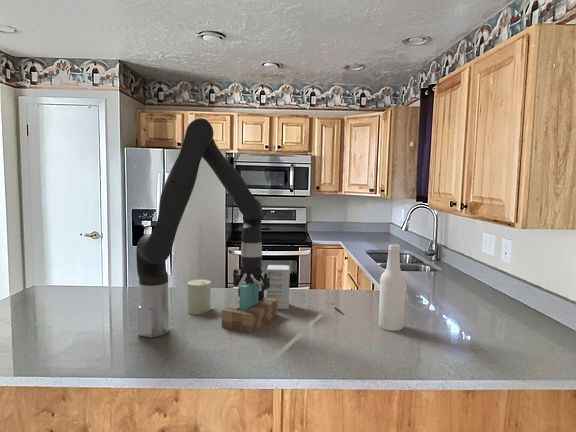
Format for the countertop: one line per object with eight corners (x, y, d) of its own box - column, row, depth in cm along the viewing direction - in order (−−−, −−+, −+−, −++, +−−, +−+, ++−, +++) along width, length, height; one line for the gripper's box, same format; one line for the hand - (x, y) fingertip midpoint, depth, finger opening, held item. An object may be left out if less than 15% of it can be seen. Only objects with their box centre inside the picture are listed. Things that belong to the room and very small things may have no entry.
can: (197, 316, 152) (197, 285, 151) (182, 311, 157) (182, 281, 156) (215, 310, 159) (215, 280, 158) (200, 305, 164) (200, 277, 163)
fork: (340, 316, 156) (341, 311, 155) (325, 304, 171) (325, 299, 171) (347, 315, 156) (347, 310, 156) (331, 303, 172) (331, 299, 171)
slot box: (251, 335, 134) (252, 315, 133) (221, 329, 139) (221, 310, 138) (277, 317, 152) (277, 299, 151) (249, 312, 157) (249, 295, 156)
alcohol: (386, 332, 138) (389, 247, 136) (374, 323, 147) (377, 243, 144) (408, 330, 141) (412, 246, 138) (395, 322, 149) (398, 242, 147)
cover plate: (245, 326, 139) (245, 287, 138) (239, 325, 140) (239, 286, 139) (261, 316, 150) (261, 279, 149) (255, 315, 151) (256, 278, 150)
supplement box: (288, 311, 159) (289, 269, 158) (265, 310, 159) (266, 269, 158) (289, 304, 169) (289, 264, 167) (267, 303, 169) (267, 264, 167)
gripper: (228, 254, 143) (228, 299, 144) (264, 258, 137) (264, 304, 138) (239, 251, 149) (239, 294, 151) (274, 254, 144) (273, 299, 145)
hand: (251, 299), depth 145 cm, fingers open, 7 cm apart
